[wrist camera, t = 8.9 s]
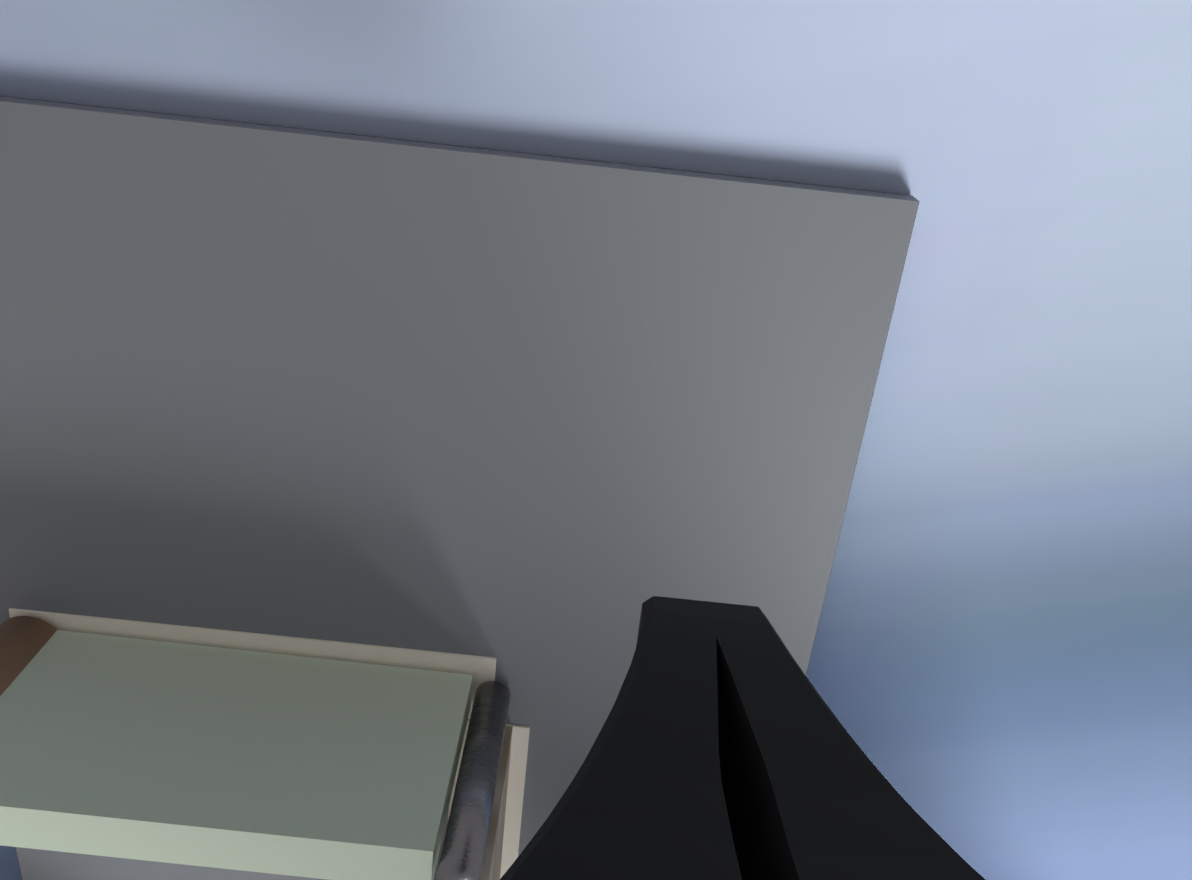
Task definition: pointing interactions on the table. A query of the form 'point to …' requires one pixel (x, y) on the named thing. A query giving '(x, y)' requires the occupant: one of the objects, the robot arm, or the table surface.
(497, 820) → the fence fixed section
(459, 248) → the board
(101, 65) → the table surface
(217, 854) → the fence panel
